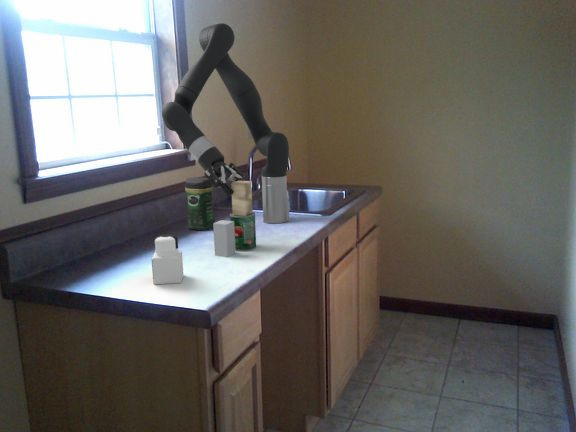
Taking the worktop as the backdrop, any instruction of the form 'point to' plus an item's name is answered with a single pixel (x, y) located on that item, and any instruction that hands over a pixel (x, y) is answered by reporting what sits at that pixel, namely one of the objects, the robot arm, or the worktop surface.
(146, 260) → the worktop surface
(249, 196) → the maple block
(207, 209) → the coffee jar
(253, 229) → the canned tomato
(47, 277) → the worktop surface
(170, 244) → the medicine bottle
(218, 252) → the grey block
